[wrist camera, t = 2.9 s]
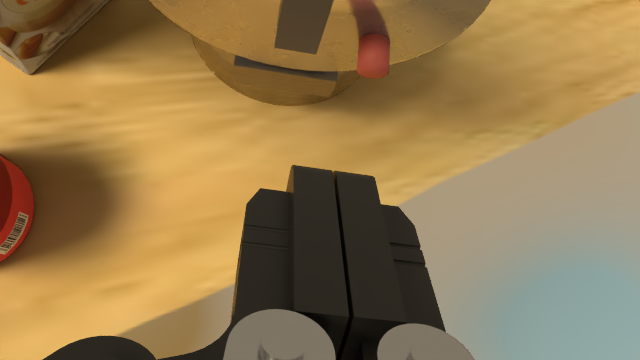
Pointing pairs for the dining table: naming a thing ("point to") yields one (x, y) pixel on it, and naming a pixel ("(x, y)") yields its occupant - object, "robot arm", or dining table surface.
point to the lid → (325, 29)
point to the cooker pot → (273, 78)
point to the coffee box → (40, 28)
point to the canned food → (14, 207)
